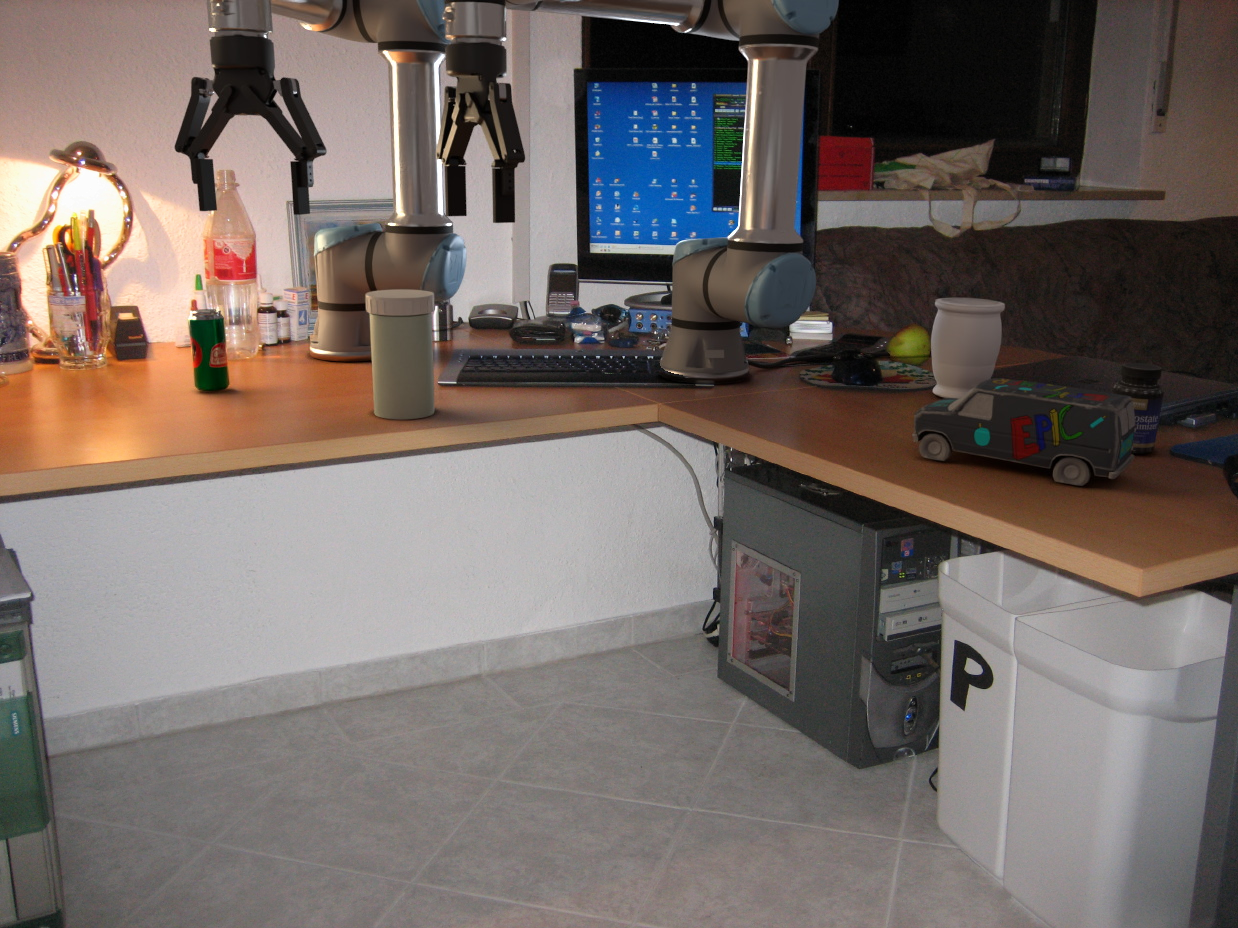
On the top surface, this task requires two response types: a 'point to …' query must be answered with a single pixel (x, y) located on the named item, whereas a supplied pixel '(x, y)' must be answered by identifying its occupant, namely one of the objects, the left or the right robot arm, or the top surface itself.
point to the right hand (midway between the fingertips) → (479, 219)
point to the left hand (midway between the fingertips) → (254, 213)
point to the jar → (964, 343)
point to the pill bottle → (1142, 401)
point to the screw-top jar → (402, 366)
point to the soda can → (209, 350)
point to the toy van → (1033, 428)
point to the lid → (400, 302)
